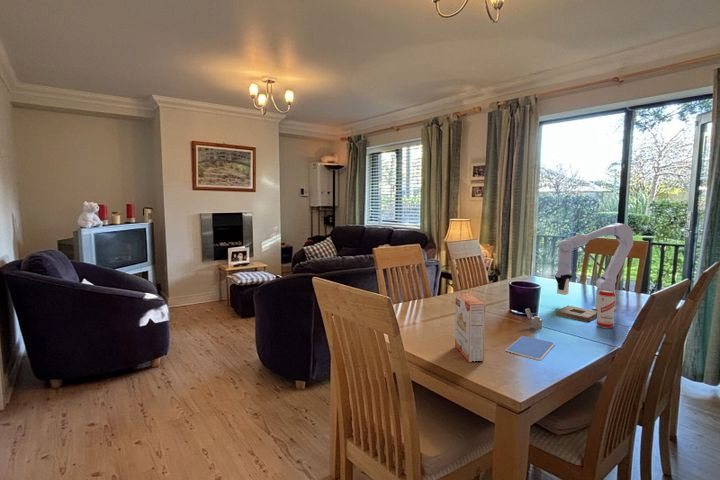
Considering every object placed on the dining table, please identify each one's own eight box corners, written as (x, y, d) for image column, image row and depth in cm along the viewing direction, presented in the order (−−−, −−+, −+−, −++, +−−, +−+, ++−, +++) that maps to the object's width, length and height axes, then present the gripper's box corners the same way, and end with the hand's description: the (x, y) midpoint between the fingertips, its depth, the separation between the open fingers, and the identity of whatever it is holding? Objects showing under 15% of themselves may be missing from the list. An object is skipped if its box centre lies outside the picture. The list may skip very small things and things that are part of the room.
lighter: (542, 329, 162) (543, 311, 161) (540, 330, 161) (541, 311, 160) (525, 324, 167) (526, 307, 166) (523, 325, 166) (524, 308, 165)
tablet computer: (540, 362, 130) (540, 359, 130) (504, 352, 139) (504, 349, 139) (555, 346, 145) (555, 342, 145) (521, 338, 153) (521, 335, 153)
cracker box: (453, 347, 143) (455, 293, 140) (469, 346, 143) (470, 293, 141) (467, 363, 129) (468, 304, 127) (484, 362, 129) (486, 303, 127)
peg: (560, 292, 197) (561, 277, 197) (568, 293, 194) (569, 278, 194) (556, 293, 195) (557, 278, 194) (565, 295, 192) (566, 279, 191)
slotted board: (567, 309, 190) (567, 305, 190) (598, 315, 180) (599, 311, 180) (555, 314, 182) (556, 310, 181) (587, 321, 171) (588, 317, 171)
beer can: (615, 329, 161) (618, 293, 159) (599, 328, 162) (602, 292, 161) (609, 324, 167) (611, 289, 166) (593, 323, 169) (596, 288, 167)
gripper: (562, 260, 201) (560, 285, 202) (550, 263, 191) (548, 289, 193) (576, 262, 195) (574, 287, 197) (564, 265, 186) (563, 292, 187)
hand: (562, 289), depth 194 cm, fingers closed on peg, 4 cm apart
